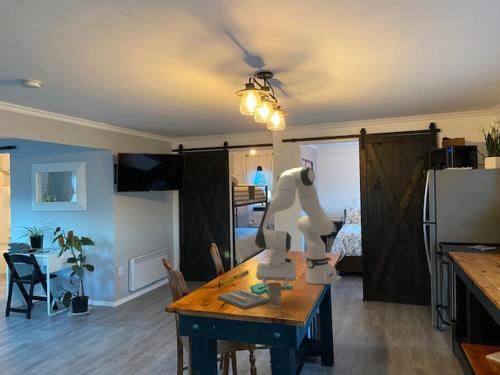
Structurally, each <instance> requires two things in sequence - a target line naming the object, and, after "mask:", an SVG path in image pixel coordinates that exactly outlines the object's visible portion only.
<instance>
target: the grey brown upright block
mask: <svg viewBox="0 0 500 375" xmlns="http://www.w3.org/2000/svg"><path fill="white" fill-rule="evenodd" d="M268 283H269V296H268V298H269V302H268V303H269V305H268V307H269V308H279V309H280V308H281V307H282V305H283V302H282V290H281V286H282V285H281V284H282V283H281V282H276V281H273V282H271V281H269V282H268Z"/></svg>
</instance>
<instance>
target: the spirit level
mask: <svg viewBox="0 0 500 375" xmlns="http://www.w3.org/2000/svg"><path fill="white" fill-rule="evenodd" d="M248 275H249V269H246V270H244V271H242V272H239V273H238V274H236V275H234V276H231V277H229V278H227V279H225V280H222V281H220V282H218V288H222V287H224V286H227V285H228V284H231V283H234V282H235V281H237V280H240V279H241V278H243V277H246V276H248Z"/></svg>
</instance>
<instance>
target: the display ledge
mask: <svg viewBox="0 0 500 375" xmlns="http://www.w3.org/2000/svg"><path fill="white" fill-rule="evenodd" d="M217 299H219V300H221V301H224V302H225V303H228V304H231V305H234V306H236V307H238V308H240V309H243V310H248V309H251V308H254V307H258V306H261V305H265V304H268V303H269V297H267V296H263V295H262V294H261V295H258V294H255V293H252V291H249V290H247V289H243V288H242V289H237V290H233V291H229V292H225V293H222V294H219V295H217Z"/></svg>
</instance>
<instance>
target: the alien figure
mask: <svg viewBox="0 0 500 375" xmlns="http://www.w3.org/2000/svg"><path fill="white" fill-rule="evenodd" d="M266 283H267V287H264V283H263V282H262V283H255V284H252V285H250V287H249V288H250V292H252V293H255V294H258V295H261V296H262V295H264V294H267V296H268V297H269V282H266ZM282 289H283V291H286V289H287V290H290V289H291V290H293V289H294V285H292V284H288V285H286V288H283V285H281V291H282Z"/></svg>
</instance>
